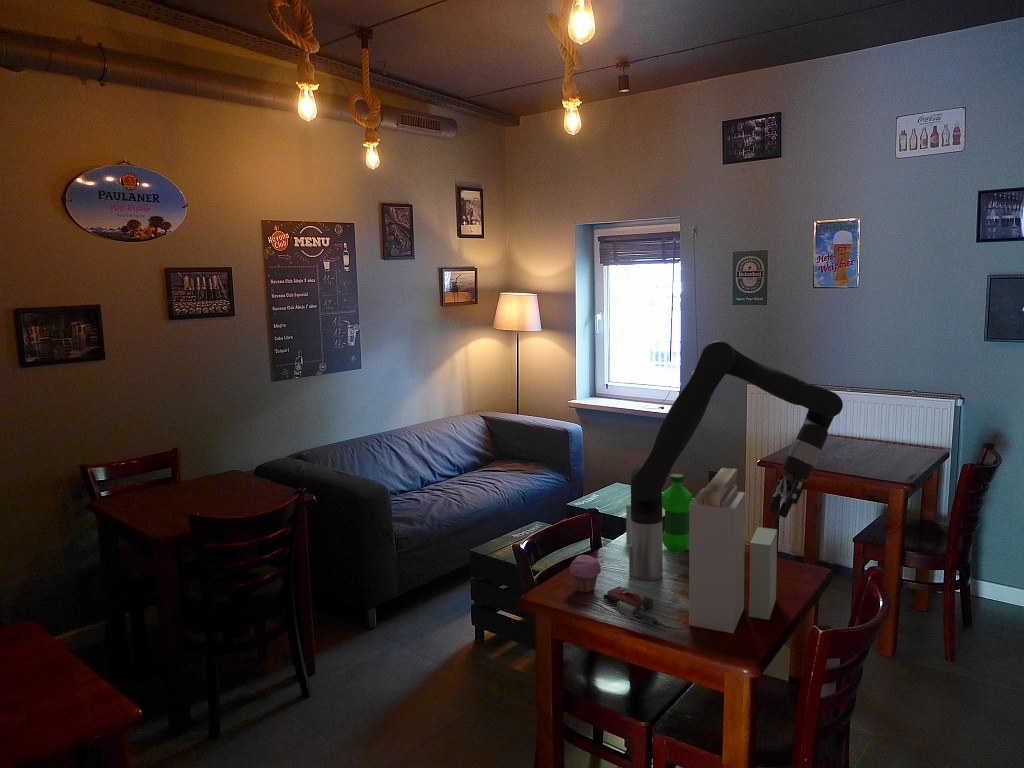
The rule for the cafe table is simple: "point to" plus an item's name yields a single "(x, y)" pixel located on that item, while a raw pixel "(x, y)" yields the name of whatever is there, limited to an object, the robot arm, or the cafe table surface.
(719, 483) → the birch bar
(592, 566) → the cupcake
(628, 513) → the small box
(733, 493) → the grey stand
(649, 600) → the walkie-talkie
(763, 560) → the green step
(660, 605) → the cafe table surface
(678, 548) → the plastic bottle
